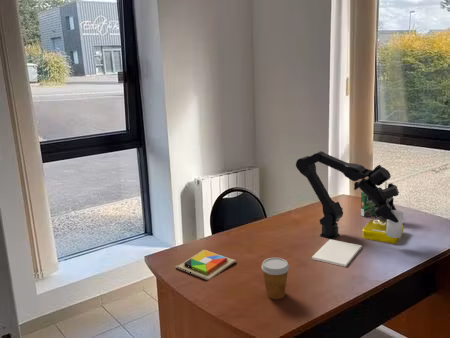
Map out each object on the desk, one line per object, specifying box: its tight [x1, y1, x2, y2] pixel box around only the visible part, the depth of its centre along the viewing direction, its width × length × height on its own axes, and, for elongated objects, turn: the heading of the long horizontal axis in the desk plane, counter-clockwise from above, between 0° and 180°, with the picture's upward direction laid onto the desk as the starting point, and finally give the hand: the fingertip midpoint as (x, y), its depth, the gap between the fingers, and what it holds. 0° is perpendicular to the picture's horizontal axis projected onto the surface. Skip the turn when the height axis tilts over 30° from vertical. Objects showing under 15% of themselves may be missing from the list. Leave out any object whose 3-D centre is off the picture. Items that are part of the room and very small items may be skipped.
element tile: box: [361, 219, 404, 245], centre depth 200 cm, size 15×15×5 cm
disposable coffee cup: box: [261, 257, 290, 300], centre depth 154 cm, size 10×10×12 cm
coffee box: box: [360, 191, 376, 218], centre depth 222 cm, size 8×3×13 cm, turn 112°
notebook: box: [311, 239, 362, 268], centre depth 184 cm, size 14×20×1 cm
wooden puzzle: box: [175, 249, 237, 281], centre depth 178 cm, size 18×19×4 cm
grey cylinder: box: [386, 209, 404, 238], centre depth 184 cm, size 6×6×10 cm
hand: (398, 219), depth 183 cm, fingers closed on grey cylinder, 6 cm apart
